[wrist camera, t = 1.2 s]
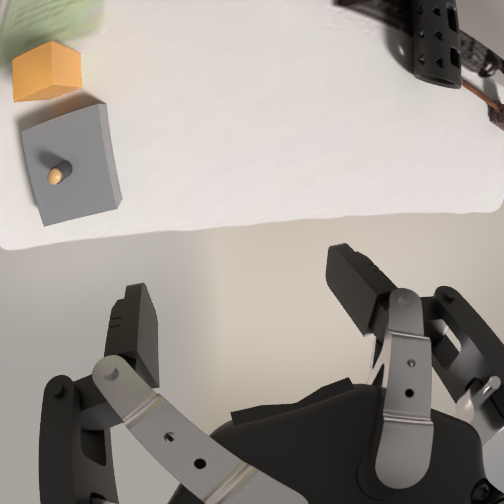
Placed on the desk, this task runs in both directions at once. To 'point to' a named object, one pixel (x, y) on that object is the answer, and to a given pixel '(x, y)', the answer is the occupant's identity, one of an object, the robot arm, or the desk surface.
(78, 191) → the flat gray square block
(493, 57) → the desk surface
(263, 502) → the robot arm
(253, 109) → the desk surface
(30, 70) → the tall orange cuboid
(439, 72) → the muzzle brake
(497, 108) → the hammer
